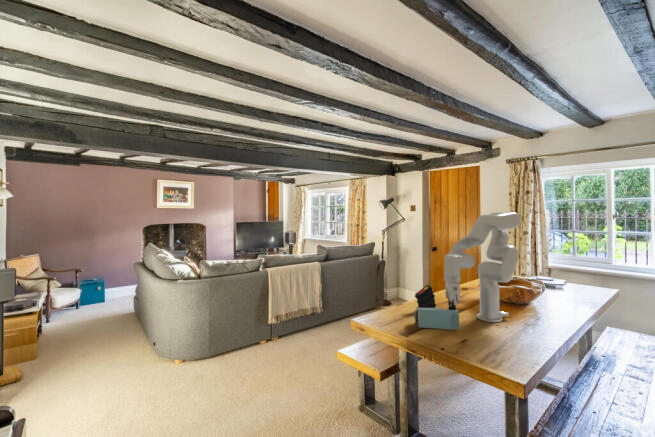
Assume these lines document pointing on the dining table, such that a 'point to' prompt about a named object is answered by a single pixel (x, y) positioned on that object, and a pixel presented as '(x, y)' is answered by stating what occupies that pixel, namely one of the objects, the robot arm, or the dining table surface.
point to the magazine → (425, 298)
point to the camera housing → (417, 313)
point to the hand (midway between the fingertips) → (452, 313)
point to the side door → (438, 318)
